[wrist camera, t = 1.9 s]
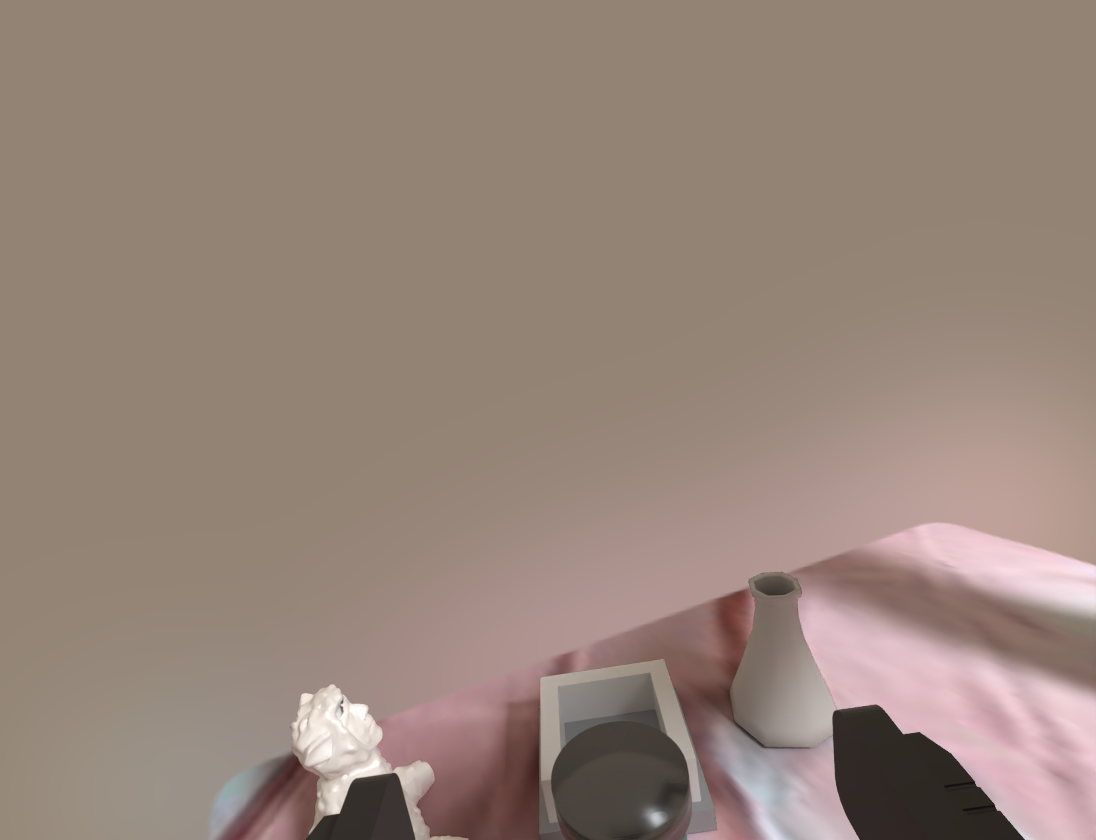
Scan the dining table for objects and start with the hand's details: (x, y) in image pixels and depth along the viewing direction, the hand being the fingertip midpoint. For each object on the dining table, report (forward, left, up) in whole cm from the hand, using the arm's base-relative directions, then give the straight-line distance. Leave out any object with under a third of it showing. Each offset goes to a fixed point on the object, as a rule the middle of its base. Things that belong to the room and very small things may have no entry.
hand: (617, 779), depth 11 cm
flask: (-12, -26, -23) cm, 37 cm away
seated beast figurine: (+14, -19, -23) cm, 33 cm away
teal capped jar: (0, -11, -23) cm, 26 cm away
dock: (0, -23, -23) cm, 33 cm away
